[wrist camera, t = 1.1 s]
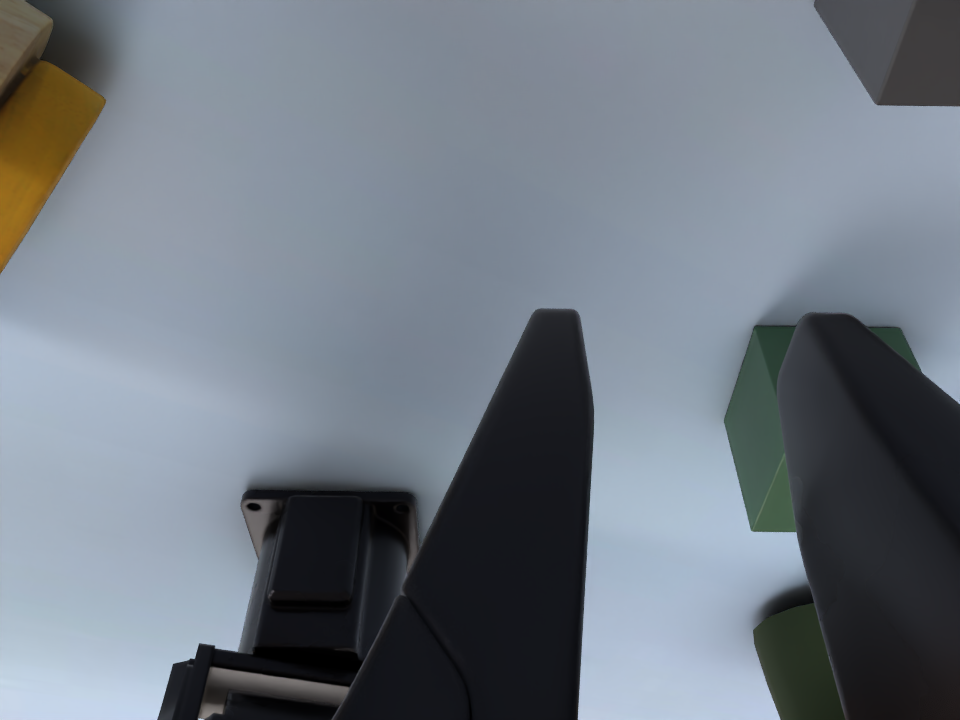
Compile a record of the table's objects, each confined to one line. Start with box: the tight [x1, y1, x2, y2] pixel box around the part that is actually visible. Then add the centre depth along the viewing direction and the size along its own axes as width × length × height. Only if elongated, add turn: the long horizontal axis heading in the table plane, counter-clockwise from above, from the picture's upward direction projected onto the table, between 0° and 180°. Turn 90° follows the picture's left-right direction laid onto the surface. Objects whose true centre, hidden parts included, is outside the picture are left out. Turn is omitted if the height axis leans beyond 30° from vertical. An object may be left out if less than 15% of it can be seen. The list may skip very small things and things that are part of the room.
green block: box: [724, 326, 922, 532], centre depth 26 cm, size 4×4×4 cm
